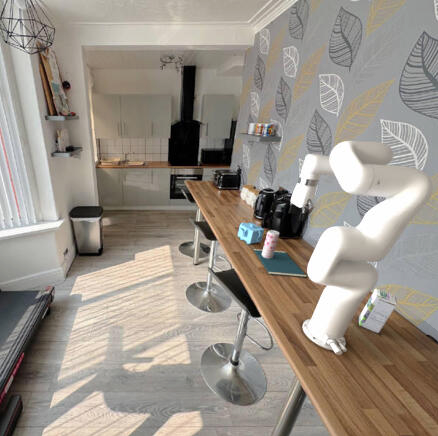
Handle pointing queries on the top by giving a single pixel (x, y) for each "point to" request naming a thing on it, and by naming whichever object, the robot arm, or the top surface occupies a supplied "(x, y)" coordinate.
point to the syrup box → (377, 310)
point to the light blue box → (250, 233)
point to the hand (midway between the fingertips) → (296, 217)
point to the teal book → (280, 264)
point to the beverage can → (270, 244)
